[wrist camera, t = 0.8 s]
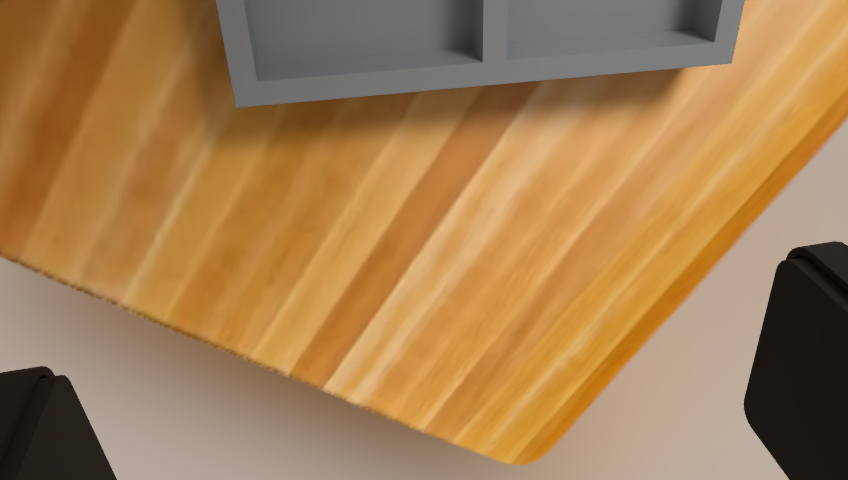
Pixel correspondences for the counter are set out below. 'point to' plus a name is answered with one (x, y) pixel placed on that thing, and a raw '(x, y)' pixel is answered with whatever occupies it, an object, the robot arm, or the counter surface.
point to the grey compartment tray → (459, 43)
